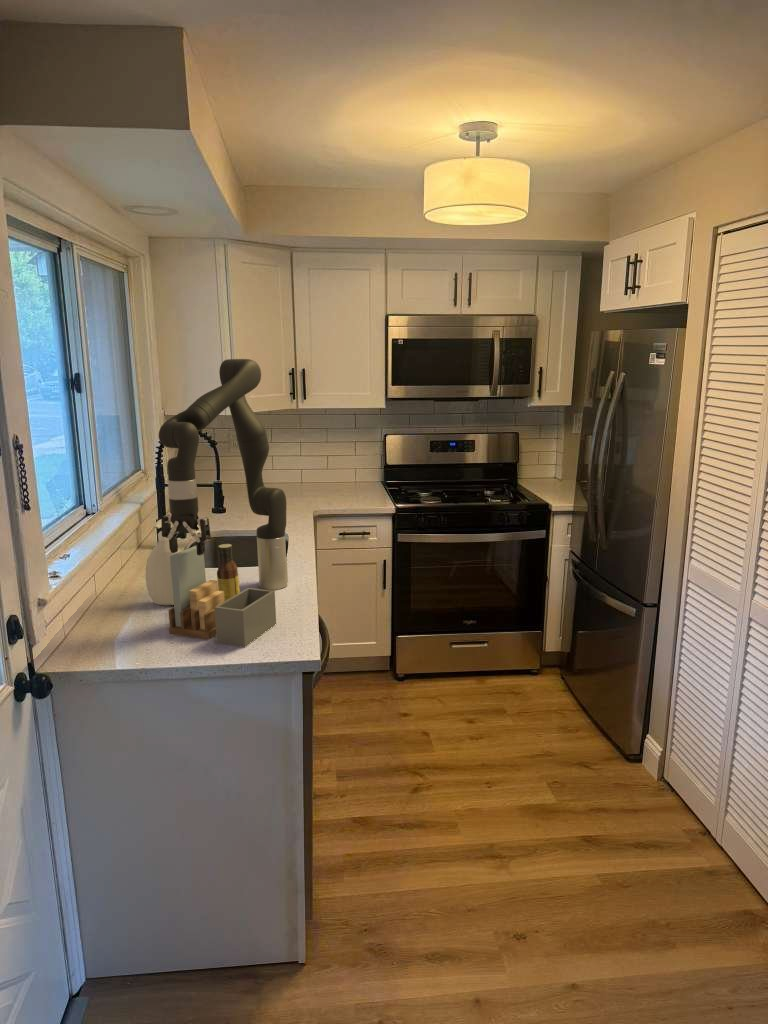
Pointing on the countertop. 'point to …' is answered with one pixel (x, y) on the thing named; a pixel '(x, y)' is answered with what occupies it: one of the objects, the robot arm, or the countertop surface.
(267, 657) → the countertop surface
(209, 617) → the rack
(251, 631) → the bin
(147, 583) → the soap bottle
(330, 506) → the countertop surface
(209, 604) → the beech offcut
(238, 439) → the robot arm
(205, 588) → the oak offcut
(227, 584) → the sauce bottle
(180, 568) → the tall sheet
